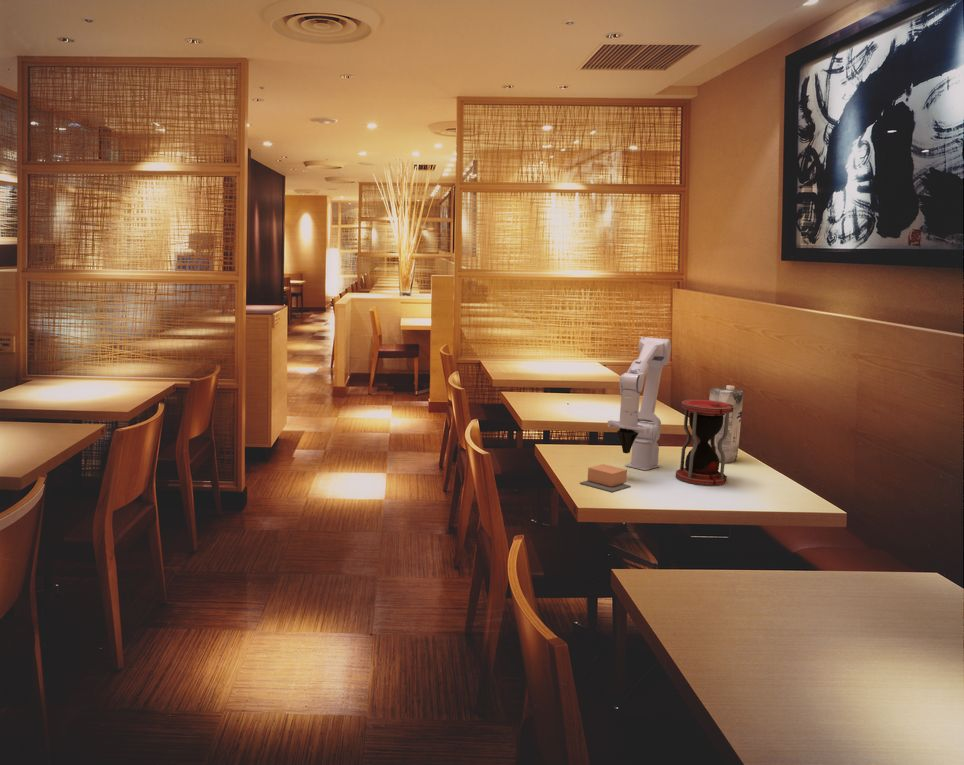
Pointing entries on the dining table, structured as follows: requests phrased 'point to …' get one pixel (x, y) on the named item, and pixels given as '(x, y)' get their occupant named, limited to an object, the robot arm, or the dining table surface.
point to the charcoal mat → (603, 487)
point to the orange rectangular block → (607, 475)
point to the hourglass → (704, 442)
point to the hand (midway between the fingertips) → (626, 452)
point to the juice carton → (734, 423)
